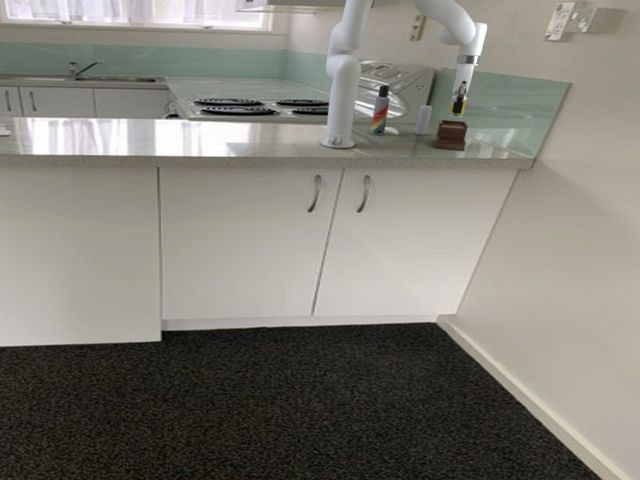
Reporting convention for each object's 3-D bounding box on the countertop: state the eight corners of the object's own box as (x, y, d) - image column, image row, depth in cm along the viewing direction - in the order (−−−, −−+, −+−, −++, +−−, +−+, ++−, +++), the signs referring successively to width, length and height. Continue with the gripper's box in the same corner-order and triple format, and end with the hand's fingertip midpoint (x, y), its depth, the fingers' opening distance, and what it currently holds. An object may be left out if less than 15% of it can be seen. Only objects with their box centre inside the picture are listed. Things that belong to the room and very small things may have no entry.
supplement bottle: (444, 116, 165) (450, 90, 160) (451, 115, 168) (457, 89, 163) (458, 118, 161) (464, 91, 157) (464, 117, 164) (471, 90, 160)
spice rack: (463, 151, 159) (469, 128, 155) (435, 148, 162) (440, 125, 158) (461, 143, 172) (466, 121, 168) (435, 140, 175) (439, 119, 171)
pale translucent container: (426, 134, 187) (432, 105, 182) (426, 136, 183) (432, 107, 178) (414, 133, 188) (420, 105, 183) (414, 135, 184) (420, 106, 179)
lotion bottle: (376, 135, 181) (384, 86, 172) (367, 133, 186) (374, 84, 176) (386, 134, 183) (394, 85, 174) (377, 132, 188) (385, 84, 179)
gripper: (455, 59, 163) (445, 108, 172) (458, 61, 149) (446, 114, 158) (476, 60, 161) (464, 109, 170) (481, 62, 147) (468, 115, 155)
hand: (456, 111), depth 163 cm, fingers closed on supplement bottle, 5 cm apart
